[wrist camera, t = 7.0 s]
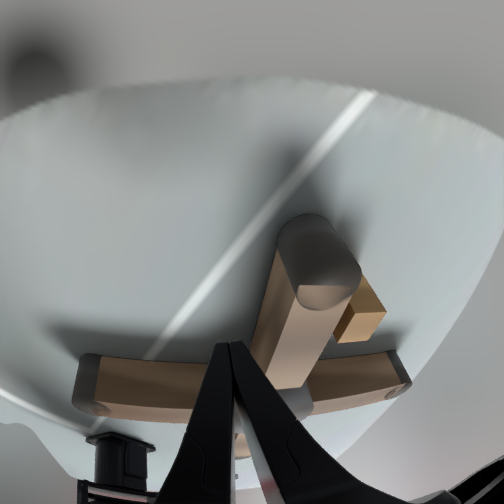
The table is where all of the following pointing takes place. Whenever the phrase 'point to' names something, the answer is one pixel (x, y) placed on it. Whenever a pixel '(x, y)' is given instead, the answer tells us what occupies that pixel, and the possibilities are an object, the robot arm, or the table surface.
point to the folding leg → (303, 299)
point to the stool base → (189, 381)
